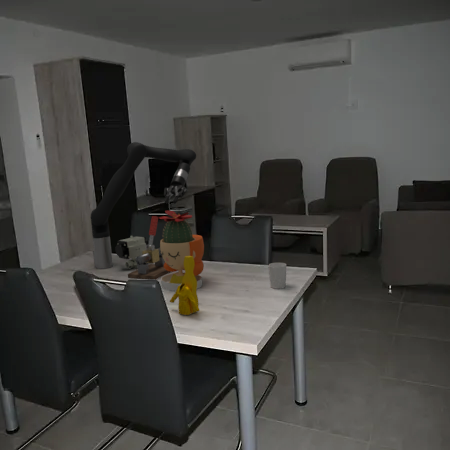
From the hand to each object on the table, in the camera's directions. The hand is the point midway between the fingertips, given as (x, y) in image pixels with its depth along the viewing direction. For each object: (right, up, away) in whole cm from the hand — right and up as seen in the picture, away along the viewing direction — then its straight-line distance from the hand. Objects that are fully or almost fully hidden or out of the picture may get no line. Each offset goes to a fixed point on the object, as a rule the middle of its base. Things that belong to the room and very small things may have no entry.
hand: (170, 202), depth 246 cm
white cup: (+54, -40, -48) cm, 82 cm away
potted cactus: (+11, -40, -35) cm, 54 cm away
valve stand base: (-8, -38, -14) cm, 41 cm away
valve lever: (-8, -23, -16) cm, 30 cm away
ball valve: (-19, -36, +1) cm, 41 cm away
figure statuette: (+16, -46, -73) cm, 88 cm away
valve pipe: (-8, -36, -14) cm, 39 cm away
